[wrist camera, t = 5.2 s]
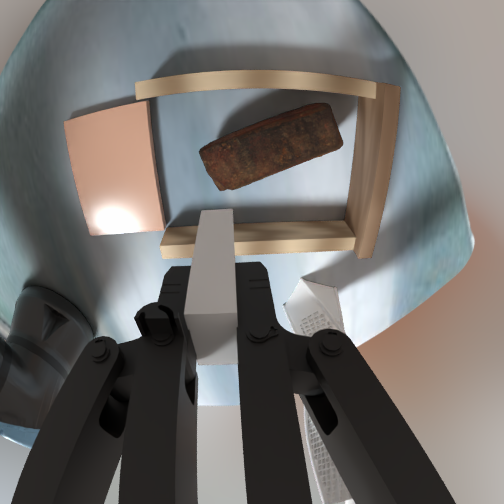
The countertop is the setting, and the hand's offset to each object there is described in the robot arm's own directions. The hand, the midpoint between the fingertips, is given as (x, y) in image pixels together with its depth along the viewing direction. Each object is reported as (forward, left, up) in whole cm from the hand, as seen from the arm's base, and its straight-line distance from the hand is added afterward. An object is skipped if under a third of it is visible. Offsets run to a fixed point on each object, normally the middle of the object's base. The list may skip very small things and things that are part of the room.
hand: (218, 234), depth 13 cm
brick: (+3, -1, -14) cm, 14 cm away
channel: (+3, 0, -13) cm, 13 cm away
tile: (-11, 0, -13) cm, 17 cm away
